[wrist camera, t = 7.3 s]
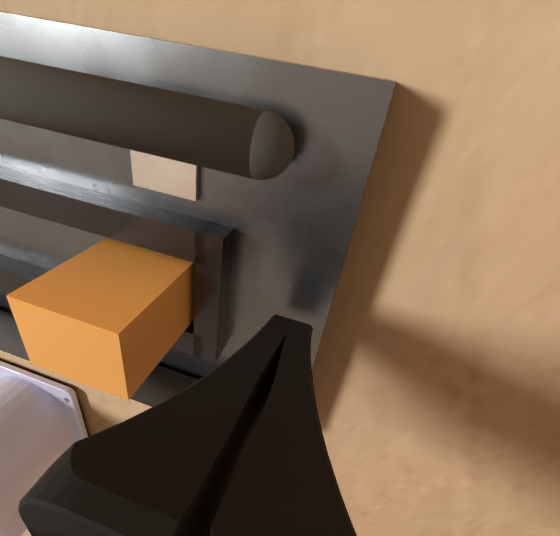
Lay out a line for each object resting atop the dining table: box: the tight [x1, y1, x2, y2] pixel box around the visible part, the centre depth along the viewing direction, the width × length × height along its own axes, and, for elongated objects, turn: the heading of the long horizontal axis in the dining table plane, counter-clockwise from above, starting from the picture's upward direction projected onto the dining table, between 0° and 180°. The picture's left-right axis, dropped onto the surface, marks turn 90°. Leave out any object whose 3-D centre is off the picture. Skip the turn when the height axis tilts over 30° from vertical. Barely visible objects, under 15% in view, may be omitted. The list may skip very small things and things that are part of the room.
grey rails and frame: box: [0, 56, 294, 407], centre depth 14 cm, size 14×20×2 cm
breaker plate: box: [0, 11, 396, 379], centre depth 15 cm, size 16×24×2 cm, turn 82°
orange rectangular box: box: [6, 238, 194, 401], centre depth 12 cm, size 3×4×4 cm
